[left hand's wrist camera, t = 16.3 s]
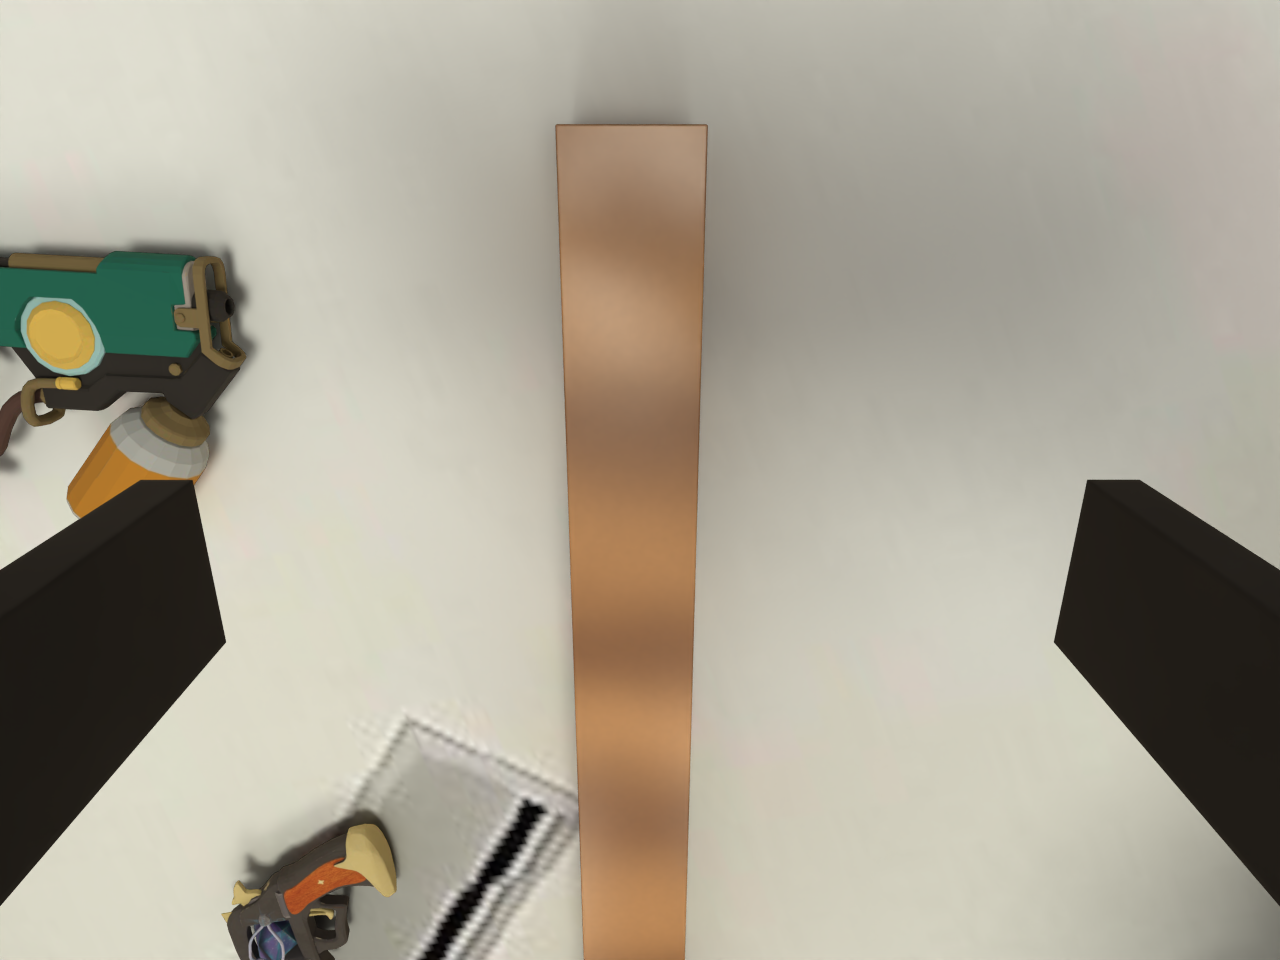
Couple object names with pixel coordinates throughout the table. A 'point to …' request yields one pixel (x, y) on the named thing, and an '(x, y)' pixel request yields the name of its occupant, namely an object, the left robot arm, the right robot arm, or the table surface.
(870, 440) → the table surface
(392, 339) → the table surface
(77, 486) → the spray gun
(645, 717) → the bar
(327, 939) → the toy gun
